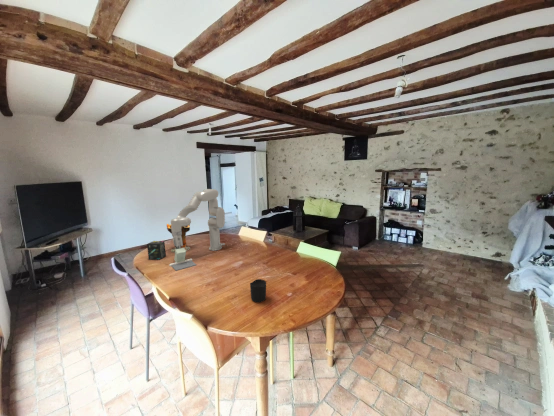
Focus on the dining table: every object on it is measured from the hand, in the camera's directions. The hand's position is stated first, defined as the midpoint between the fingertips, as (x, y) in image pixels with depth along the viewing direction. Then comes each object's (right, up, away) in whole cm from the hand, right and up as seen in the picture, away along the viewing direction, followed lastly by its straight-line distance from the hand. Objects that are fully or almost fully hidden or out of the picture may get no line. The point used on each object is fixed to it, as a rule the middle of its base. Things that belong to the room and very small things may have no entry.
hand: (178, 254), depth 192 cm
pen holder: (+73, -15, -58) cm, 95 cm away
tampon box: (-23, -6, +10) cm, 26 cm away
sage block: (+1, -6, 0) cm, 6 cm away
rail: (+4, -7, -3) cm, 8 cm away
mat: (+8, -8, -8) cm, 14 cm away
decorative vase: (-12, -2, +32) cm, 35 cm away
